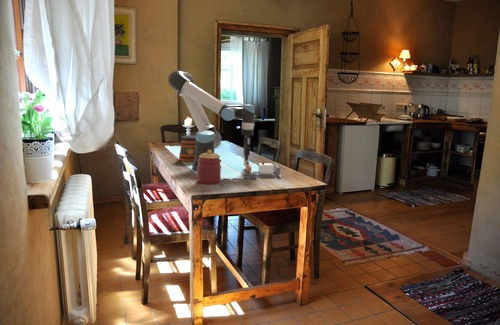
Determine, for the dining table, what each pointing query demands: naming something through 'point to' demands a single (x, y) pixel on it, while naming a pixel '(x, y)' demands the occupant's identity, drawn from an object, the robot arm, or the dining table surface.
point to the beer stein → (188, 148)
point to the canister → (209, 168)
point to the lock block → (265, 169)
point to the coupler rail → (255, 174)
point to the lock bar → (248, 167)
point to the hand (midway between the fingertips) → (245, 165)
